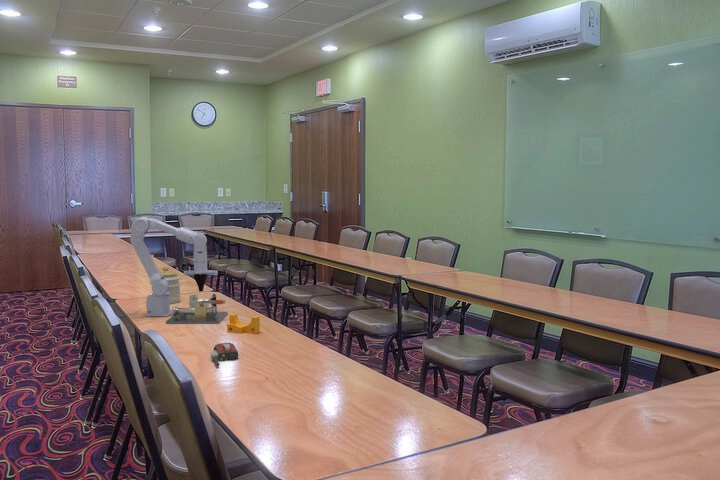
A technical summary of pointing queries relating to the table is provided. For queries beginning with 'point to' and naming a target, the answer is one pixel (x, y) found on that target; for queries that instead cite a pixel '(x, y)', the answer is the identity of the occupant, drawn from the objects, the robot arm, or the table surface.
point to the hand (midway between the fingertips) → (201, 291)
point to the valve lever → (212, 302)
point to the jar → (172, 284)
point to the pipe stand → (196, 315)
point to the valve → (194, 301)
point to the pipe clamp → (238, 327)
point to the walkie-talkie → (224, 352)
